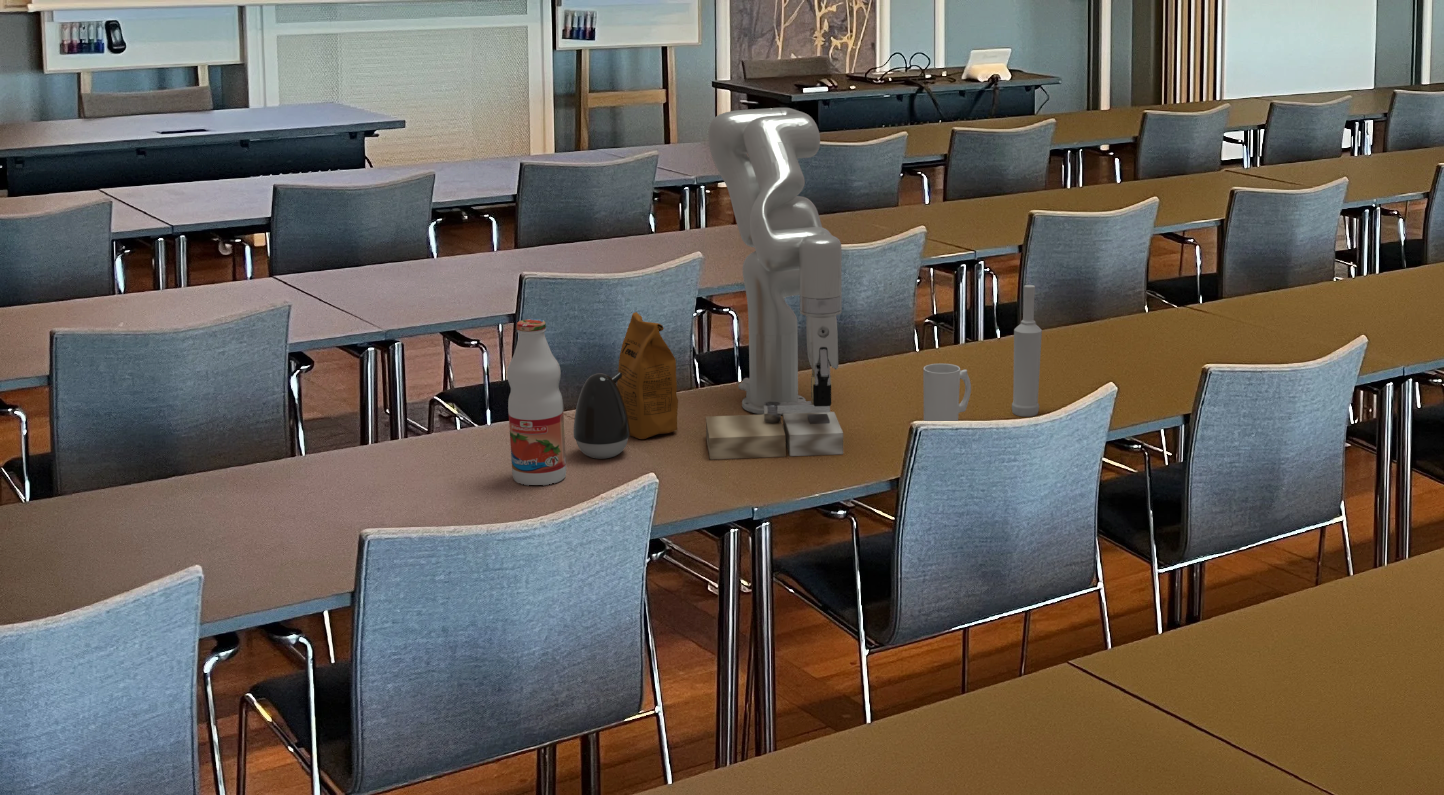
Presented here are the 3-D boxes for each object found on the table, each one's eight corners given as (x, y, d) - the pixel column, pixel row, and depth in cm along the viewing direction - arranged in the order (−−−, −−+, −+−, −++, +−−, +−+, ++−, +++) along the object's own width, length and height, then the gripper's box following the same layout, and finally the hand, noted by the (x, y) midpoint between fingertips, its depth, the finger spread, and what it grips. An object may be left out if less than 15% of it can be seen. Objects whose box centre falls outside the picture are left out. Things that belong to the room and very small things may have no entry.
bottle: (1042, 411, 321) (1047, 284, 314) (1032, 418, 317) (1037, 290, 309) (1017, 407, 323) (1022, 282, 316) (1007, 414, 319) (1011, 287, 312)
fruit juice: (576, 472, 292) (568, 317, 284) (551, 489, 284) (542, 330, 276) (528, 466, 295) (519, 313, 287) (502, 483, 287) (492, 326, 279)
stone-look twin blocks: (709, 459, 297) (709, 434, 296) (706, 437, 310) (705, 413, 308) (843, 454, 298) (843, 429, 297) (834, 432, 311) (834, 408, 310)
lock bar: (764, 423, 303) (763, 380, 300) (763, 417, 306) (763, 375, 304) (832, 422, 303) (831, 378, 300) (830, 416, 306) (830, 373, 304)
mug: (936, 437, 306) (937, 375, 303) (915, 428, 312) (916, 366, 309) (980, 428, 311) (982, 367, 308) (959, 419, 317) (960, 359, 313)
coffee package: (659, 417, 322) (655, 307, 316) (684, 435, 311) (681, 321, 305) (611, 425, 318) (606, 313, 312) (634, 443, 307) (630, 327, 301)
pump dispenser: (643, 452, 302) (640, 372, 297) (601, 467, 294) (597, 384, 290) (605, 441, 308) (601, 362, 304) (562, 455, 301) (558, 374, 297)
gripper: (846, 314, 290) (846, 415, 295) (836, 293, 306) (836, 389, 311) (803, 316, 290) (804, 416, 295) (796, 294, 306) (796, 390, 311)
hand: (821, 401), depth 303 cm, fingers closed on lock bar, 3 cm apart
